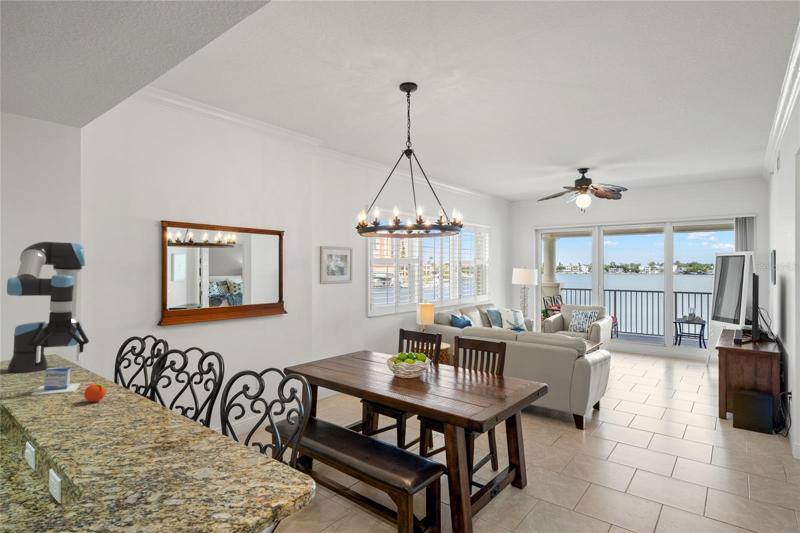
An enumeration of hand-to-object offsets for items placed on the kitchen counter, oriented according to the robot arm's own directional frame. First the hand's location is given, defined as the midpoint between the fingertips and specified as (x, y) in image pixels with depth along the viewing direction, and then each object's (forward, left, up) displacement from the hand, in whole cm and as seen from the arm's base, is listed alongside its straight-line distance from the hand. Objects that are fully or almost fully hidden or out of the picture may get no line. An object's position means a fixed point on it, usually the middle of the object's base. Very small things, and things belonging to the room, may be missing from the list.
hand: (58, 361), depth 181 cm
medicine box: (0, 0, -12) cm, 12 cm away
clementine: (+25, +17, -12) cm, 33 cm away
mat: (0, 0, -12) cm, 12 cm away
